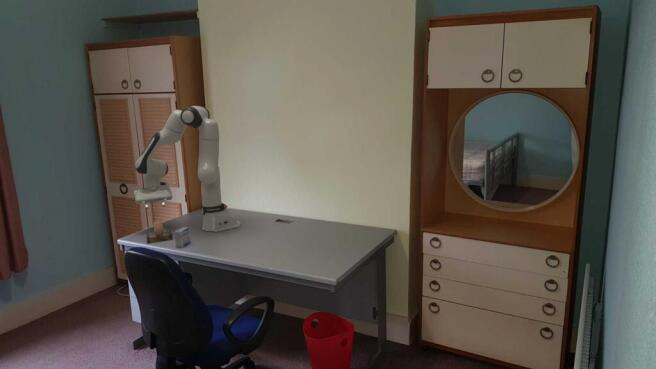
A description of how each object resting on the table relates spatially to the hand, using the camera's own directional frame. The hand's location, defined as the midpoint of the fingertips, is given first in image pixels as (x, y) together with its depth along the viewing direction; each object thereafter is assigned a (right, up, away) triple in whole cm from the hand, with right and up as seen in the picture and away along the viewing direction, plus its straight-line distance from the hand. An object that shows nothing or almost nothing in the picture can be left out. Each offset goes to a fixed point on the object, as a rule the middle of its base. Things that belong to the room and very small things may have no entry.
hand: (155, 207), depth 265 cm
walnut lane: (+4, -17, -5) cm, 18 cm away
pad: (0, -14, +7) cm, 16 cm away
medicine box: (+22, -19, -18) cm, 34 cm away
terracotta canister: (+5, -17, -7) cm, 20 cm away
